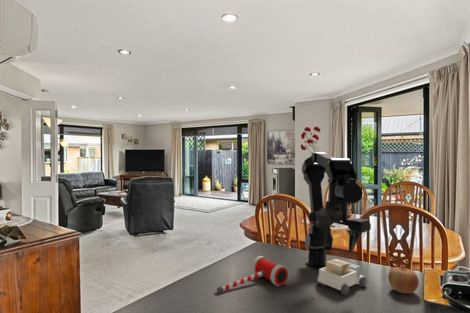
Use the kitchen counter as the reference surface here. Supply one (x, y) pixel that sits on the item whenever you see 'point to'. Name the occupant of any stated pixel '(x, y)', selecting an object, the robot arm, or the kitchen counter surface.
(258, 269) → the toy hammer
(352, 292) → the kitchen counter surface
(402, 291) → the apple
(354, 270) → the toy truck
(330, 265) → the cream wooden cube
